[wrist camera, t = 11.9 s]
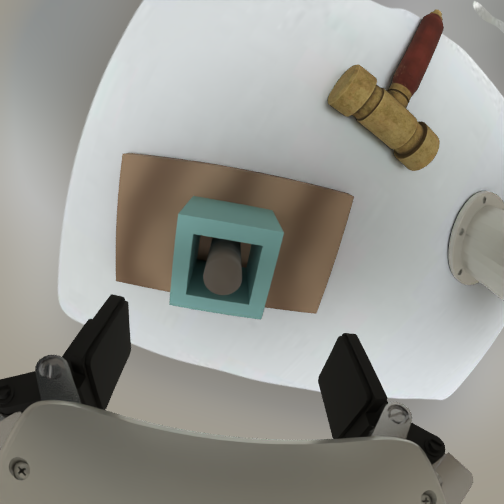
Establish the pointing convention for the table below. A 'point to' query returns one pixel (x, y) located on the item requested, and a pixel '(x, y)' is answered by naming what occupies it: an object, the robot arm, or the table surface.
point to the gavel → (394, 99)
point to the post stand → (221, 250)
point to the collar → (230, 228)
